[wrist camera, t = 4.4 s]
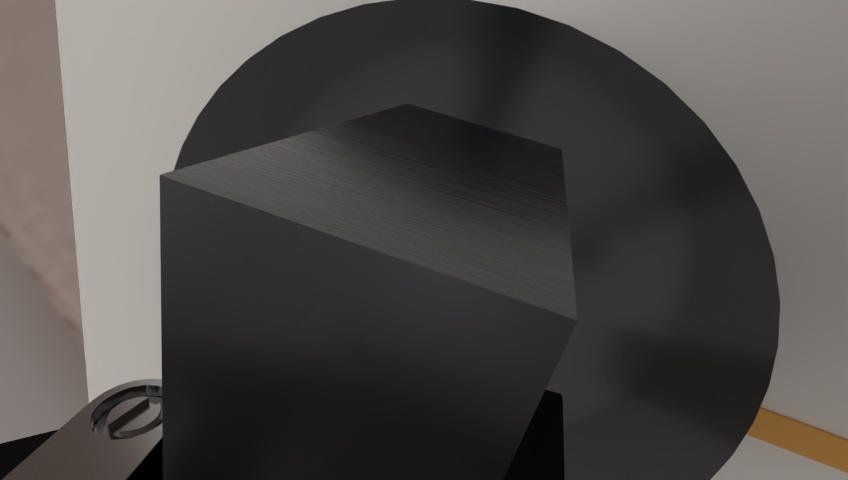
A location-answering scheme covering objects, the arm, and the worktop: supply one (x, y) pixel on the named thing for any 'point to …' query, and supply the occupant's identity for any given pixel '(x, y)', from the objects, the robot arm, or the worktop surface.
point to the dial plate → (567, 3)
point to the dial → (456, 259)
